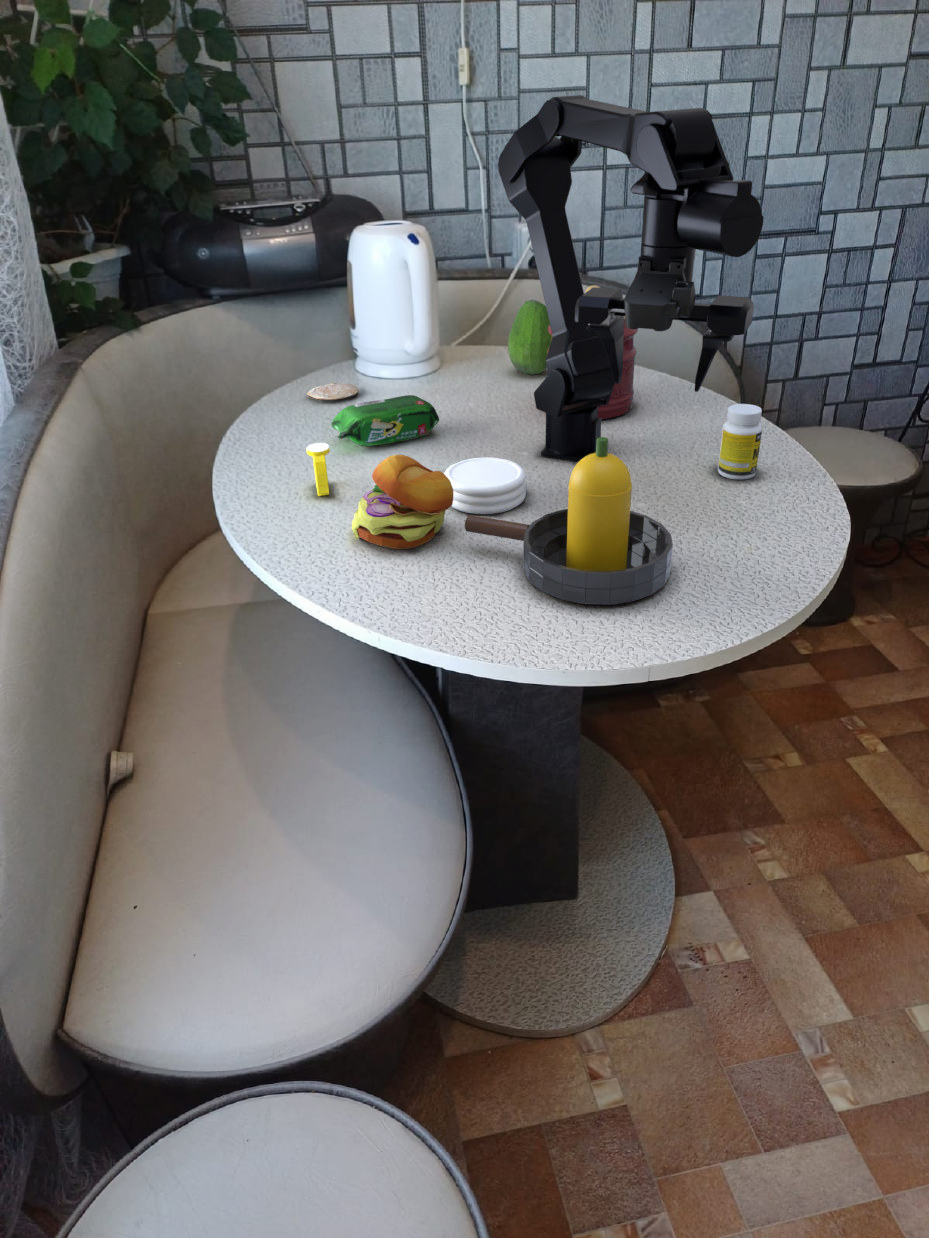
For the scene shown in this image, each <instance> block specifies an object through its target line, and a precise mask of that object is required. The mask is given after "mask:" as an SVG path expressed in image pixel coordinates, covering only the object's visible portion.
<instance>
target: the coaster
mask: <svg viewBox="0 0 929 1238" xmlns="http://www.w3.org/2000/svg"><path fill="white" fill-rule="evenodd" d="M443 473H444V474H445V475H446V476H447V477H448V479H449V480H450V481H451V484H452V488H453V504H452V506H451V507H450V508H453V509H455V510H457V511H459V512H463V513H466V514H471V515H472V514H473V515H494V514H499V513H500V514H501V513H504V512H508V511H511V510H513V509H515V508H517V507H518V506H519V505H521V504H522V503H523V502H524V501H525V498H526V496H527V492H526V491H527V490H526V488H527V483H526V479H527V474H526V471H525V469H524V468H523V467H522V466H521V465H520V464H519V463H516V462H515V461H512V460H509V459H505V458H499V457H473V458H468V459H467V458H466V459H463V460H461V461H458V462H455V463H454V464H452V465H450V466H448V468H447V469H445V472H443Z"/></svg>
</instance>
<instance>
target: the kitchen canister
mask: <svg viewBox="0 0 929 1238" xmlns="http://www.w3.org/2000/svg"><path fill="white" fill-rule="evenodd" d="M593 287H594V288H601V286H599V285H595V284H594V285H589V286H588V287H587V288H586V289H585V291H584V294H585V293H586V292H587V291H589V290H590V289H591V288H593ZM638 331H639V328H638V329H636V330H635V329H629V328H627V327H626V323H625V316H624V337H623V370H622V377H621V382H620V383H619V384H616V383H615V384H614V387H613V391H612V394H611V397H610V400H609V403H608V405H605V406H604V405H602V406H598V417H600V418H601V420H607V419H612V418H616V417H620V416H622V415H624V414H626V413H628V412H629V411H630V410H631V408H632V405H633V404H632V403H633V401H634V394H635V390H634V375H635V362H636V355H637V348H636V347H635V345H634V341H635V340H634V339H635V338H634V336H635V335H636V334H637V333H638ZM548 332H549V334H550V335H551V341H552V331H551V326H550V325H549V326H548ZM548 351H549V348H548V350H547V354H548Z"/></svg>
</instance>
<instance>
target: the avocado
mask: <svg viewBox="0 0 929 1238" xmlns="http://www.w3.org/2000/svg"><path fill="white" fill-rule="evenodd" d="M517 311H518V312H517V314H516V316H515V319H514V321H513V323H512V326H511V328H510V331H509V335H508V344H507V352H508V356H509V359H510V362H511V364H512V365H513V368H515V369H516V370H517V371H519V372H520V373H522V374H523V375H529V376H530V375H531V376H532V375H538V374H541V373H542V372H545V370H547V366H546V358H547V350H548V348H549V347H550V344H551V335H550V334H549V332H548V326H549V325H550V322H549V318H548V313H547V309H546V305H545V303H542V302H540V301H538V300H535V299H531V300H526V301H524V302H523V304H522V306H520V308H519V310H517Z"/></svg>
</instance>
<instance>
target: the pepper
mask: <svg viewBox="0 0 929 1238" xmlns="http://www.w3.org/2000/svg"><path fill="white" fill-rule="evenodd" d="M608 450H609V438H608V437H605V436H601V437H599V438H597V443H596V452H595V453H593V454H590V455H587V456H585V457H584V458H582V459H581V460H580V461H577V463H576V464H575V466H574V467H573V469H572V471H571V474H570V477H569V481H568V490H567V491H568V495H567V497H568V498H567V509H568V524H567V556H566V567H569V568H575V569H581V570H586V571H615V570H623V569H626V564H627V550H628V535H629V521H630V511H631V504H632V491H633V490H632V488H633V483H632V477H631V473H630V471H629V468H628V467H627V465H626V464H625V462H624V460H622V459H621V458H619V457H618V456H617V455H615V454H612V453H609V452H608Z"/></svg>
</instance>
